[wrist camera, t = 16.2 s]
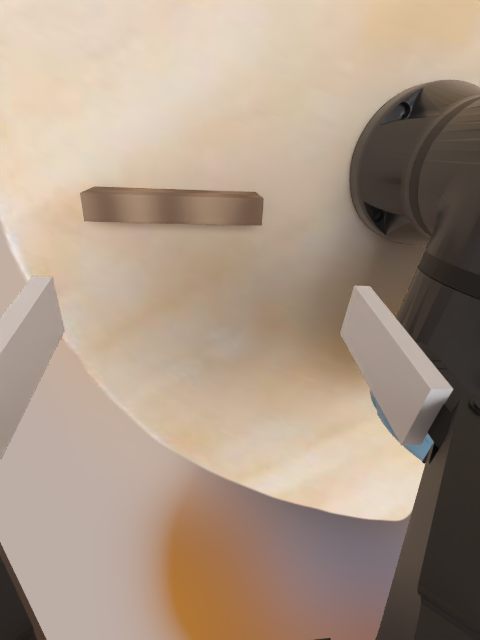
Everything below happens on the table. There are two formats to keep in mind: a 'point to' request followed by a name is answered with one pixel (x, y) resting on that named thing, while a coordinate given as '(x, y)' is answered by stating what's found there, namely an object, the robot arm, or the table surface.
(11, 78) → the table surface
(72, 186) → the table surface
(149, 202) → the rail
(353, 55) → the table surface
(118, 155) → the table surface
